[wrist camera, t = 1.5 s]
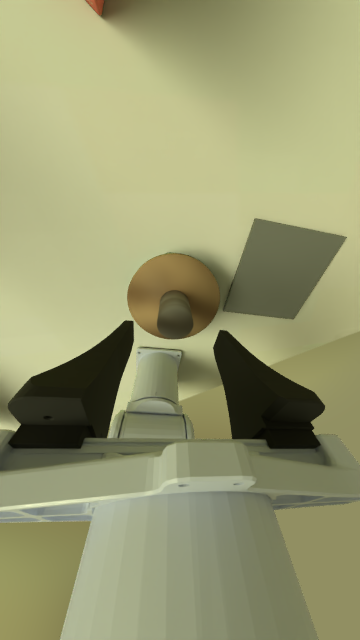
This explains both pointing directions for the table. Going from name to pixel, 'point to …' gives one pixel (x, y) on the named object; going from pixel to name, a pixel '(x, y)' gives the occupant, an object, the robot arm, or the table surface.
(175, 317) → the lid
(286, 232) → the mat
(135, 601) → the robot arm
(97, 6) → the ink cartridge box
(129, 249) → the table surface
